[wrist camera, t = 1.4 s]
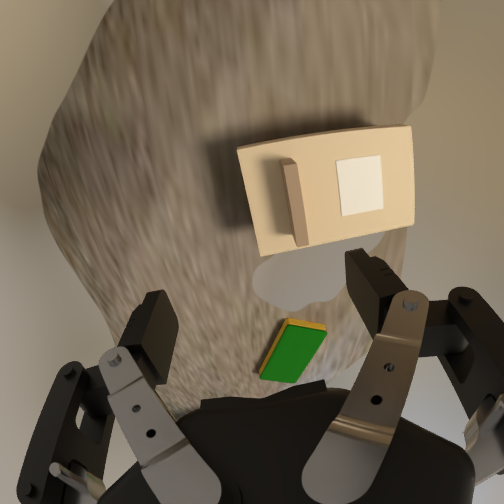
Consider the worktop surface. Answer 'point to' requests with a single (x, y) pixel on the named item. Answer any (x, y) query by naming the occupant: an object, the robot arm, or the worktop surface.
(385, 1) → the worktop surface
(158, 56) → the worktop surface
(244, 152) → the lid
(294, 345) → the dish sponge
